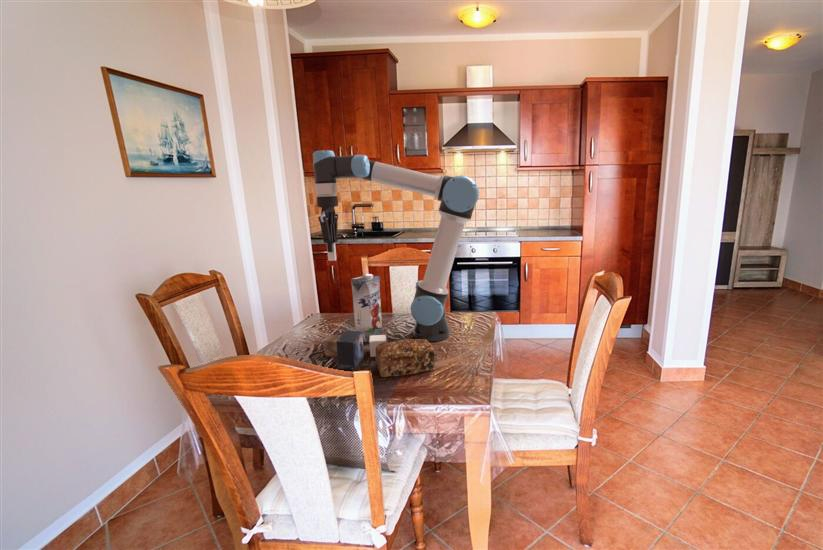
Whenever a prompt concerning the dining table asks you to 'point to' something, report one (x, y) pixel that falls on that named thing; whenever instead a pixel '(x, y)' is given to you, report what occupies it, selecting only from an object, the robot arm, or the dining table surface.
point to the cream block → (375, 343)
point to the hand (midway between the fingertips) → (332, 260)
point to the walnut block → (331, 345)
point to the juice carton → (367, 305)
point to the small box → (350, 350)
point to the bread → (404, 357)
